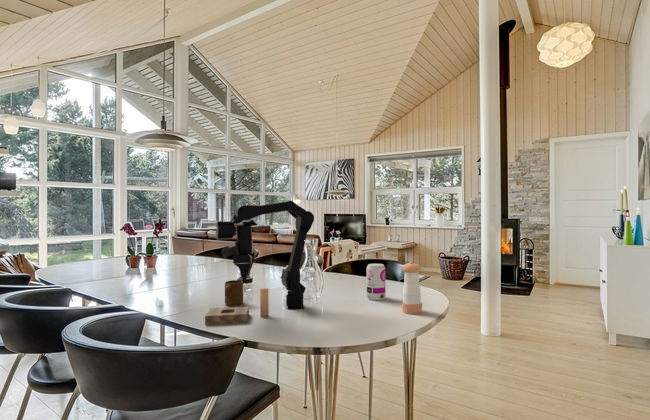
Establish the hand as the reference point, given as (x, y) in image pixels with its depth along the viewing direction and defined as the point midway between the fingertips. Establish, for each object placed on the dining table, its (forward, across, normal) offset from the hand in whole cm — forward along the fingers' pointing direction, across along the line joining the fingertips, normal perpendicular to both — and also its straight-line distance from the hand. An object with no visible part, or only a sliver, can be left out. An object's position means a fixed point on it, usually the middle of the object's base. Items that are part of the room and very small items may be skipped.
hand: (245, 278), depth 137 cm
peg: (+13, +5, +7) cm, 16 cm away
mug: (+13, -12, -8) cm, 20 cm away
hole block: (+13, +7, -6) cm, 16 cm away
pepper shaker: (+15, +6, +63) cm, 65 cm away
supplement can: (+15, -16, +54) cm, 58 cm away
